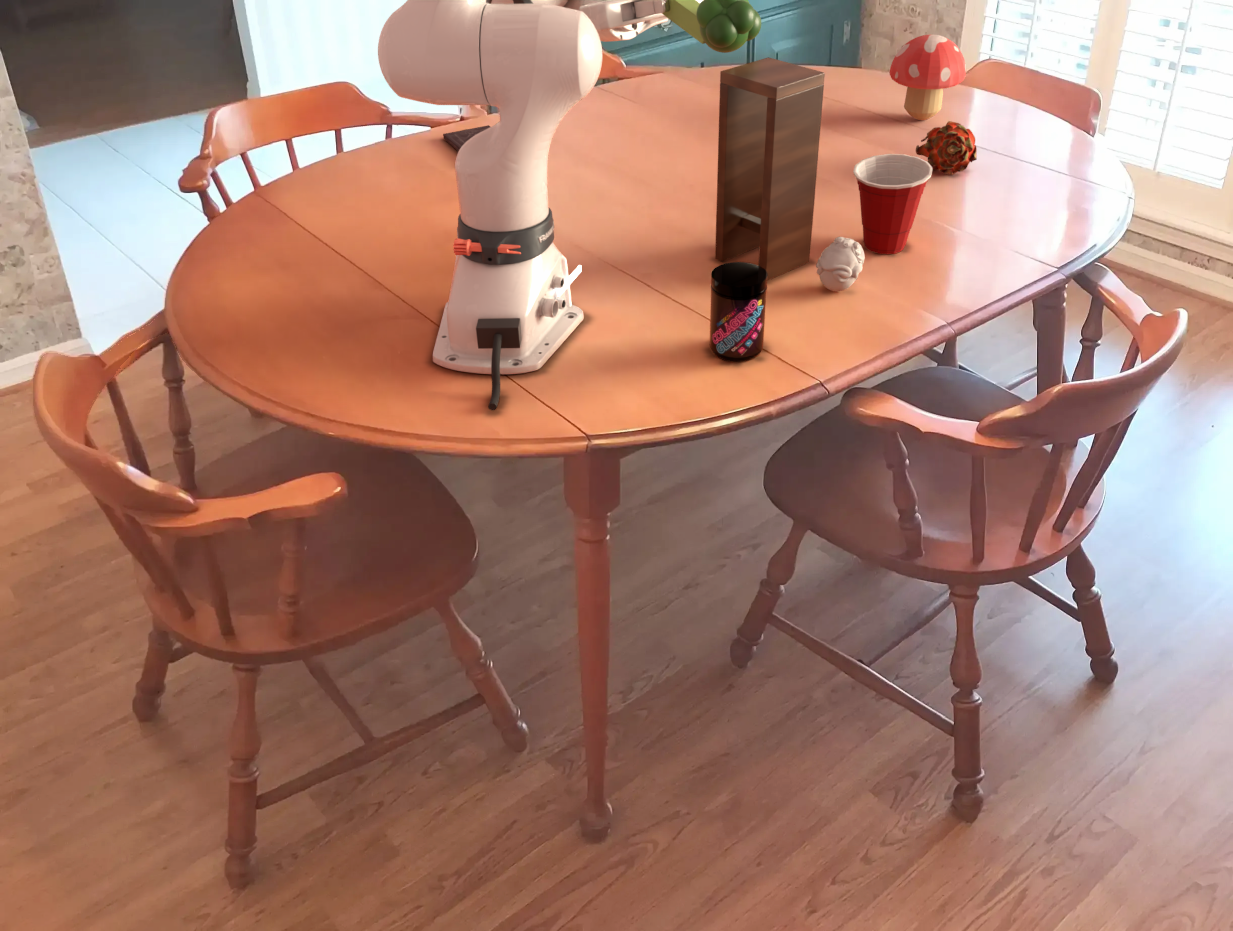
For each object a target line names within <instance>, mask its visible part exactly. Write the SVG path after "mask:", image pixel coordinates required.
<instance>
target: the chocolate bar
mask: <svg viewBox="0 0 1233 931" xmlns="http://www.w3.org/2000/svg"><path fill="white" fill-rule="evenodd" d="M490 127H491V126H490V125H489V124H488V125H483V126H477V127H473V128H467V129H461V130H457V131H450V132H446V133H443V140H444V141H445V142H446V143H448V144H449V145H450V146H451V147H452V148H453V149H455V150H456V151H457V153H458V152H459V150H460V148H461V147H462V146H463V144H464V143H466V142H467V141H468V140H469V139H470V138H472V137H473V136H475V135H476V134H478V133H480V132H482V131H484V130H486V129H488V128H490Z"/></svg>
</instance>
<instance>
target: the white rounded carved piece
mask: <svg viewBox="0 0 1233 931" xmlns="http://www.w3.org/2000/svg"><path fill="white" fill-rule="evenodd" d="M865 256H866V255H865V251H864V248H863V246H862V245H861V244H860V242H858V241H856V240H854V239H853V238H850V237H844V236H837V237H835V238H834V240H833V242H831V243H830V244H829V245H828V246H827V247H826V248H824V249H823V250H822V252H821V253H820V256H819V258H817V262H816V264H815V267H816V268H817V270H816V274H817V275H818V276H819V279H820V280H819V281H820V283H821V284H822V286H824V287H825V288H826V289H828V290H829V291H831V292H843V291H845V290H848V289H849V288H850V287H851V286H852V285H853V284H854V283H855V282H856V281H857V279H858V277H859V274H860V273H862V272H863V265H864V263H865V259H866V257H865Z"/></svg>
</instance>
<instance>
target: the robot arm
mask: <svg viewBox="0 0 1233 931" xmlns="http://www.w3.org/2000/svg"><path fill="white" fill-rule="evenodd" d="M696 1H697V2H699V3H701V2H702V1H703V0H696ZM669 4H670V3H669V0H406V1H405V2H404V3H403V4H402V5H401V6H400V7H398V8H397V9H396V10H394V11H393V12H392V13H391V14H390V16H388V18H387V19H386V21H385V22H384V24H383V26H382V28H381V31H380V35H379V38H378V43H377V59H378V64H379V68H380V71H381V73H382V76H383V78H384V80H385V82H386V83H387V85H388V87H390V89H391V90H392V92H393V93H395V95H397V96H398V97H399V98H401V99H407V100H411V101H415V102H419V103H424V104H429V105H436V106H491V107H495V108H497V109H498V113H499V121H498V122H497V123H494V125H492V126H490V128H488V129H486V130H484V131H482V132H480V133H478V134H476V135H475V136H473V137H472V138H470V139H469V140H468V141H467V142H466V143H464V144H463V146H462V147H461V148H460V150H459V152H458V151H457V154H456V157H455V161H454V170H455V171H454V172H455V181H456V188H457V197H458V206H459V215H458V217H457V228H456V238H455V239H454V240H453V244H452V245H453V246H452V247H453V249H452V250H453V254H454V255H455V260H454V265H453V266H454V267H453V272H452V278H451V284H450V289H449V294H448V301H447V302H446V303H445V305H444V309H443V312H442V317H441V320H440V324H439V328H438V331H437V336H436V339H435V344H434V346H433V347H434V348H433V351H432V362H433V363H434V364H436V365H438V366H440V367H443V368H445V369H449V370H452V371H458V372H462V373H470V374H482V375H491V395H490V399H489V404H488V407H487V408H488V410H490V411H497V408H498V404H499V401H500V396H501V375H516V374H517V375H518V374H525V373H531V372H535V371H538V370H540V369H542V367H543V366H544V365H545V364H546V362H547V361H549V359H550V358H551V357H552V356H553V355H554V353H555V352H557V350H558V349H559V348H560V347H561V346H562V345H563V343H564V342H565V341H566V340H567V339H568V338H569V336H570V335H571V334H572V333H573V332H574V331H575V330H576V329H577V327H578V326H580V324H581V323H582V322H583V321H584V320H585V315H584V311H583V309H582V308H580V307H579V306H577V305H575V304H573V303H572V293H571V284H572V283H573V282H574V281H575V279H577V277H578V276H579V275H580V274H581V273H582V265H581V264H578V265H577V267H576V268H575V269H574V270H573V271H572V272H571V273H570V274H569V268H568V260H567V257H565V255H563V253H562V252H561V251H560V250H559V249H558V247H557V246H556V245H555V242H554V240H555V220H554V217H553V211H552V209H551V208H550V207H549V192H548V164H549V154H550V148H551V144H552V141H553V138H554V135H555V133H556V131H557V129H558V127H559V125H560V124H561V122H562V121H563V119H564V118H565V117H566V115H567V114H568V113H569V112H570V111H571V110H572V109H573V108H574V107H575V106H576V105H577V104H578V103H580V102H581V101H583V100H584V99H585V97H587V96H588V95H589V94H590V92H591V91H592V90H593V89H594V87H595V86H596V83H597V81H598V79H599V77H600V74H601V70H602V65H603V48H602V47H603V46H602V42H605V43H607V42H619V41H630V40H632V39H634V38H636V37H637V36H639V35H640V34H642V33H643V32H645V31H647V30H649V29H651V28H653V27H656V26H658V25H662V24H664V23H667V22H669V19H668V18H667V17H666V16H664V15H663V14H662V13H665V12H668V11H670V5H669Z"/></svg>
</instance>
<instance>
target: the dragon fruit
mask: <svg viewBox="0 0 1233 931" xmlns="http://www.w3.org/2000/svg"><path fill="white" fill-rule="evenodd" d="M925 141H926V142H925ZM920 142H921V143H922V142H925V143H923V144H921V145H918V144H917V145H916V147H915V154H916V156H917V155H918V156H923V157H925V158H927V160H926V161H927V162H928V163H929V164H930V165H931V166H932V168H933V169H932V171H939V172H941V173H942V174H946V175H950V176H953V175H955V174H956V173H959V172H960V173H961V172H963V171H965V170H967V168H968V166H969V164H970V163H973V162H974V161H977V159H978V158H977V156H978V155H977V153H978V152H977V151H978V149H977V146H976V136H975V135H974V133H973V132H972V130H971V129H970V128H966V127H965V125H962V124H961V123H959V122H957V121H952V120H951V121H949V120H948V121H947V123H946V124H945V125H943V126H942V127H940V126H937V127H933V128H932V129H931V130H929V131H928V132H926V136H925V137H923V138H921V140H920Z"/></svg>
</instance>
